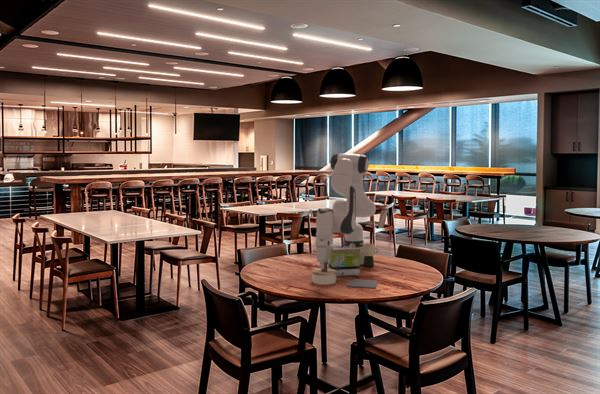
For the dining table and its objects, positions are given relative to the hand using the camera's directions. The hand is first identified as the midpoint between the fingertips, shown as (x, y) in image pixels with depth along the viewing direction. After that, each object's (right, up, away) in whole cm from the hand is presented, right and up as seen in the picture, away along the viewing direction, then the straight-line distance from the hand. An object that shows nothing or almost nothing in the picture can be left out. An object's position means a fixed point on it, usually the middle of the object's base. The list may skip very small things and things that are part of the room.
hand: (324, 266), depth 264 cm
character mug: (+28, -5, +38) cm, 47 cm away
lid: (0, -3, 0) cm, 3 cm away
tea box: (+12, -7, +18) cm, 23 cm away
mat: (+19, -8, -4) cm, 21 cm away
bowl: (0, -8, +1) cm, 8 cm away
